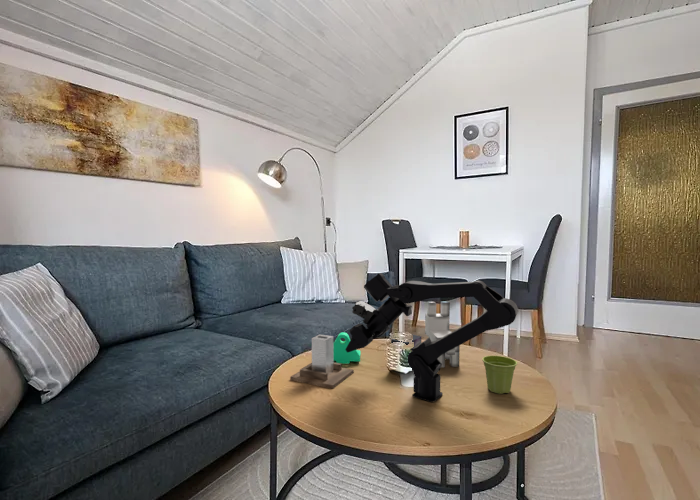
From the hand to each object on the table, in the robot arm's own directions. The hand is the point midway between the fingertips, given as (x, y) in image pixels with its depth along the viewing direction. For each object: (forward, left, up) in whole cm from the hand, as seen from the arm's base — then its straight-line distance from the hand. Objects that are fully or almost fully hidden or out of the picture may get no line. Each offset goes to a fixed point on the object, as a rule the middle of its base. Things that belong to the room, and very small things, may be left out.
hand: (353, 346), depth 117 cm
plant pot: (-38, -20, -11) cm, 44 cm away
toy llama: (-15, -34, -11) cm, 38 cm away
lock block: (+10, +2, -10) cm, 14 cm away
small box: (-8, -20, -11) cm, 24 cm away
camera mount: (+14, -14, -11) cm, 23 cm away
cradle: (+10, +2, -11) cm, 15 cm away
